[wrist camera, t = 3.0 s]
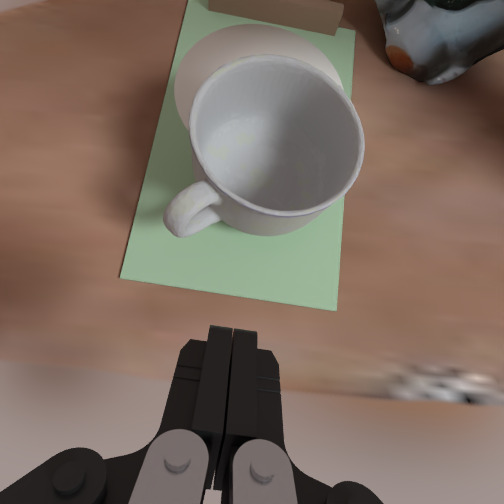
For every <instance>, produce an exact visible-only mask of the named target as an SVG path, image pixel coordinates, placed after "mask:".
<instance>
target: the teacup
mask: <svg viewBox="0 0 504 504" xmlns="http://www.w3.org/2000/svg"><path fill="white" fill-rule="evenodd" d="M188 126H189V139H190V143H191V149H192V165H193V171H194V177H195V181H196V183H193V184H191V185H189V186H188V187H186V188H185V189H183V190H182V191H181V192H179V193H178V194H177V195H176V196H175V197H174V198H173V199H172V200H171V201H170V203H169V204H168V205H167V207H166V209H165V211H164V214H163V222H164V225H165V227H166V228H167V229H168V230H169V231H170V232H171V233H172V234H173V235H175V236H176V237H179V238H185V237H189V236H191V235H193V234H195V233H198V232H199V231H201V230H203V229H204V228H206V227H208V226H209V225H211V224H214V223H217V222H219V221H223V222H225V223H226V224H228V225H229V226H231V227H233V228H235V229H237V230H239V231H242V232H244V233H247V234H251V235H257V236H278V235H283V234H287V233H290V232H293V231H295V230H298V229H300V228H302V227H303V226H305V225H307V224H308V223H310V222H311V221H312V220H314V219H315V218H316V217H318V216H319V215H320V214H321V213H322V212H324V211H325V210H326V209H327V208H328V207H329V206H331V205H332V204H333V203H335V202H336V201H337V200H339V199H340V198H341V197H342V196H343V195H345V194H346V192H347V191H348V190H349V189H350V187H351V186H352V184H353V183H354V181H355V180H356V178H357V176H358V174H359V171H360V168H361V166H362V163H363V157H364V133H363V129H362V125H361V122H360V118H359V116H358V114H357V112H356V110H355V108H354V105H353V103H352V102H351V101H350V99H349V98H348V96H347V95H346V93H345V92H344V90H343V89H342V88H341V86H340V85H338V84H336V83H335V82H334V81H333V80H332V79H331V78H330V77H329V76H327V75H326V74H325V73H324V72H323V71H321V70H319V69H317V68H315V67H313V66H312V65H310V64H309V63H306V62H303V61H301V60H297V59H295V58H291V57H287V56H281V55H269V54H260V55H250V56H247V57H241V58H238V59H235V60H233V61H231V62H228V63H226V64H224V65H222V66H221V67H219V68H218V69H217V70H216V71H214V72H212V74H211V76H209V77H208V78H207V79H206V80H205V81H204V82H203V83H202V85H201V86H200V87H199V89H198V91H197V93H196V95H195V96H194V98H193V102H192V106H191V110H190V113H189V124H188Z"/></svg>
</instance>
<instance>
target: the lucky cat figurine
mask: <svg viewBox="0 0 504 504" xmlns="http://www.w3.org/2000/svg"><path fill="white" fill-rule="evenodd" d="M375 2H376V4H377V8H378V11H379V14H380V16H381V19H382V23H383V27H384V30H385V35H386V39H387V42H386V47H385V50H386V54H387V57H388V59H389V61H390V63H391V65H392V66H393V67H394V68H396V69H397V70H399V71H401V72H403V73H404V74H406V75H408V76H410V77H412V78H413V79H415V80H417V81H420V82H422V81H424V82H426V83H427V84H428V85H434V84H439V83H443V82H447V81H450V80H453V79H455V78H457V77H458V76H459V75H461V74H463V73H464V72H466V71H467V70H468V69H469V68H470V67H471V66H473V65H474V64H476V63H477V62H479V61H480V60H482V59H484V58H485V57H488V56H490V55H492V54H494V53H496V52H498V51H501V50H503V49H504V0H375Z"/></svg>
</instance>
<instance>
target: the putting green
mask: <svg viewBox="0 0 504 504" xmlns="http://www.w3.org/2000/svg"><path fill="white" fill-rule="evenodd" d="M343 8H344V4H342V3H338V2H333V1H328V0H188V4H187V8H186V12H185V16H184V20H183V24H182V28H181V32H180V36H179V40H178V44H177V48H176V53H175V57H174V61H173V65H172V69H171V73H170V77H169V81H168V85H167V89H166V93H165V97H164V101H163V105H162V109H161V113H160V117H159V121H158V125H157V129H156V133H155V138H154V142H153V146H152V150H151V154H150V158H149V162H148V166H147V170H146V174H145V178H144V182H143V186H142V190H141V194H140V198H139V202H138V206H137V210H136V214H135V218H134V222H133V227H132V231H131V235H130V239H129V243H128V247H127V251H126V255H125V259H124V263H123V267H122V271H121V275H120V279H126V280H133V281H139V282H146V283H153V284H159V285H166V286H172V287H179V288H185V289H192V290H198V291H205V292H212V293H218V294H225V295H231V296H238V297H244V298H251V299H257V300H264V301H271V302H277V303H284V304H290V305H297V306H303V307H310V308H316V309H323V310H330V311H337V296H338V282H339V267H340V252H341V237H342V223H343V208H344V195H343V196H342V197H341V198H340V199H339V200H337V201H336V202H335V203H333V204H332V205H331V206H329V207H328V208H327V209H326V210H325V211H324V212H322V213H321V214H320V215H319V216H318V217H316V218H315V219H314V220H312V221H311V222H310V223H308V224H307V225H305V226H303V227H302V228H300V229H298V230H295V231H293V232H290V233H287V234H283V235H278V236H257V235H251V234H247V233H244V232H242V231H239V230H237V229H235V228H233V227H231V226H229V225H228V224H226V223H225V222H223V221H219V222H217V223H214V224H211V225H209V226H208V227H206V228H204V229H203V230H201V231H199V232H198V233H195V234H193V235H191V236H189V237H185V238H179V237H176V236H175V235H173V234H172V233H171V232H170V231H169V230H168V229H167V228H166V227H165V225H164V222H163V214H164V211H165V209H166V207H167V205H168V204H169V203H170V201H171V200H172V199H173V198H174V197H175V196H176V195H177V194H178V193H179V192H181V191H182V190H183V189H185V188H186V187H188V186H189V185H191V184H193V183H196V181H195V177H194V171H193V165H192V149H191V143H190V139H189V126H188V124H189V113H190V110H191V106H192V102H193V98H194V96H195V95H196V93H197V91H198V89H199V87H200V86H201V85H202V83H203V82H204V81H205V80H206V79H207V78H208V77H209V76H211V74H212V72H214V71H216V70H217V69H218V68H219V67H221V66H222V65H224V64H226V63H228V62H231V61H233V60H235V59H238V58H241V57H247V56H250V55H260V54H269V55H281V56H287V57H291V58H295V59H297V60H301V61H303V62H306V63H309V64H310V65H312V66H313V67H315V68H317V69H319V70H321V71H323V72H324V73H325V74H326V75H327V76H329V77H330V78H331V79H332V80H333V81H334V82H335V83H336V84H338V85H340V86H341V88H342V89H343V90H344V92H345V93H346V95H347V96H348V98H349V99H350V101H351V90H352V76H353V61H354V46H355V32H356V31H355V30H350V29H346V28H341V27H338V26H339V23H340V20H341V18H342V15H343Z"/></svg>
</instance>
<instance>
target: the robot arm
mask: <svg viewBox="0 0 504 504" xmlns="http://www.w3.org/2000/svg"><path fill="white" fill-rule="evenodd" d="M232 332H233V328H228V327H221V326H215V325H210V329H209V334H208V340H207V341H200V340H193V339H190V340H189V341H188V343H187V344H186V345H185V346H184V347H183V348H182V349H181V350H180V354H179V358H178V361H177V366H176V369H175V373H174V376H173V380H172V384H171V388H170V391H169V395H168V399H167V403H166V406H165V410H164V414H163V418H162V422H161V425H160V428H159V431H158V432H157V434H156V436H155V437H154V438H153V440H152V441H151V442H150V443H149V444H148V445H146V446H145V447H144V448H142V449H140V450H138V451H136V452H134V453H132V454H128V455H124V456H119V457H114V458H109V459H104V460H103V459H102V457H101V456H100V455H99V454H98V453H97V452H95V451H93V450H91V449H88V448H71V449H68V450H64V451H62V452H60V453H58V454H56V455H55V456H53V457H51V458H50V459H49V460H47V461H45V462H44V463H43V464H41V465H40V466H38V467H37V468H35V469H34V470H32V471H31V472H29V473H28V474H26V475H25V476H23V477H22V478H20V479H19V480H17V481H16V482H15V483H13V484H12V485H10V486H9V487H7V488H6V489H4V490H3V491H1V492H0V504H203V500H204V495H205V490H206V489H211V485H212V480H213V476H214V471H215V476H214V486H213V490H220V491H222V495H221V504H383V503H382V502H381V500H380V499H379V498H378V497H377V496H376V495H375V494H374V493H373V492H372V491H371V490H369V489H368V488H366V487H365V486H363V485H361V484H359V483H356V482H352V481H344V482H340V483H338V484H336V485H335V486H334V487H333V488H332V487H330V486H328V485H326V484H324V483H322V482H319V481H318V480H315V479H313V478H311V477H309V476H308V475H306V474H304V473H303V472H302V471H300V470H299V469H298V468H297V467H296V466H295V465H294V464H293V462H292V461H291V459H290V458H289V456H288V454H287V452H286V449H285V445H284V435H283V420H282V405H281V394H280V382H279V380H280V376H279V364H278V362H277V360H276V358H275V357H274V355H273V353H272V351H269V350H262V349H257V332H256V331H249V330H242V329H235V328H234V332H233V337H232Z"/></svg>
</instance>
